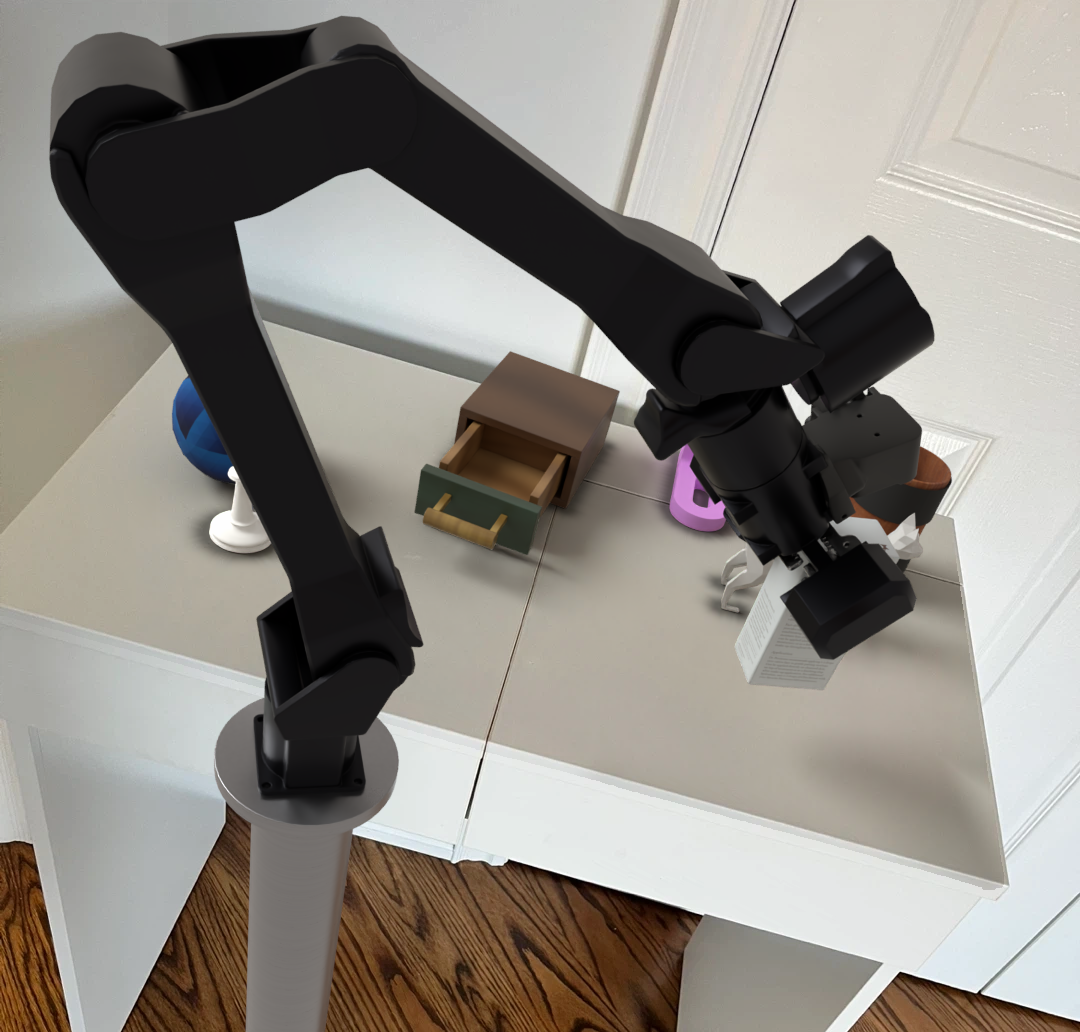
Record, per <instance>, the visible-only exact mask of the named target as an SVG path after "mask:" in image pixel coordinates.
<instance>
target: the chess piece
mask: <svg viewBox="0 0 1080 1032" xmlns="http://www.w3.org/2000/svg"><path fill="white" fill-rule="evenodd" d="M228 476H229V478H230V479H231V480H233V481H235V482H236V484H234V493H233V500H232V504H231V505H232V506H231V509H229V510H225V511H223V512H219V513H218V514H217V515H215V516H214V517H213V518H212V520H211V522H210V525H209V537H210V539H211V541H212V542H213V543H214V544H215V545H216V546H217V547H219V548H221V549H223V550H225V551H228V552H232V553H237V554H253V553H257V552H260V551H263V550H265V549H267V548H268V547H270V546H271V545H272V544H271V542H270V540H269V538H268V536H267V534H266V532H265V530H264V528H263V525H262V523H261V521H260V519H259V517H258V515H257V513H256V511H254V510H253V505H252V503H251V501H250V499H249V497H248V495H247V493H246V491H245V489H244V487H243V485H242V483H241V481H240V479H239V477H238V475H237V473H236V471H235V469H234V467H233V466H232V467H231V468H230V469H229V471H228Z"/></svg>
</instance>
